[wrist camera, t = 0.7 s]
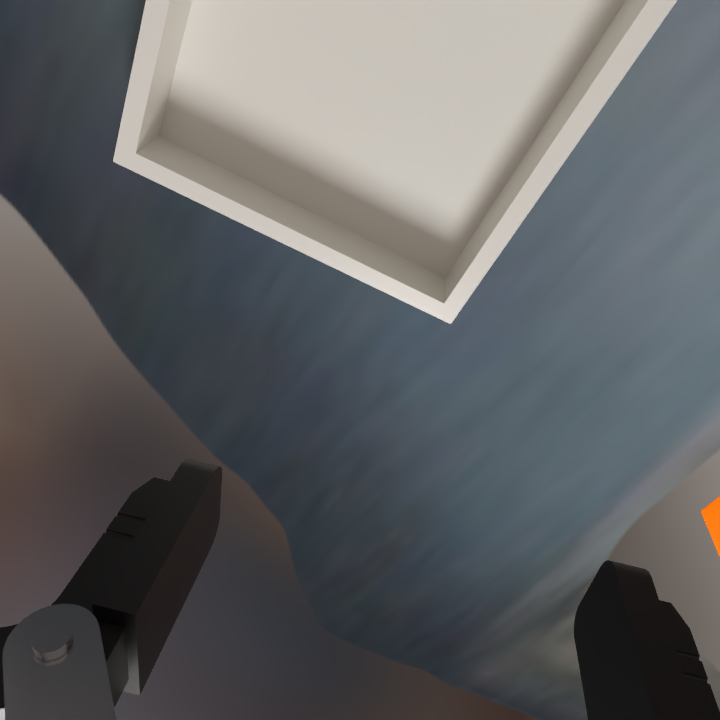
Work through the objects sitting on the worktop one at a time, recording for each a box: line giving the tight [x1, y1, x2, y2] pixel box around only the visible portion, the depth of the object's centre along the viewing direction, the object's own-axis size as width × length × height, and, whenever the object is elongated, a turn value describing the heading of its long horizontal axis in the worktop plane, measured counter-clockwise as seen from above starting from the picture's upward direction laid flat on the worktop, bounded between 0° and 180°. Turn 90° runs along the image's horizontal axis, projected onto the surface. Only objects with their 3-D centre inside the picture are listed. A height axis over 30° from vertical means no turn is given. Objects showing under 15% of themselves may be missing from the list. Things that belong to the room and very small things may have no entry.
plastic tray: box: [113, 0, 677, 324], centre depth 27 cm, size 24×20×4 cm
